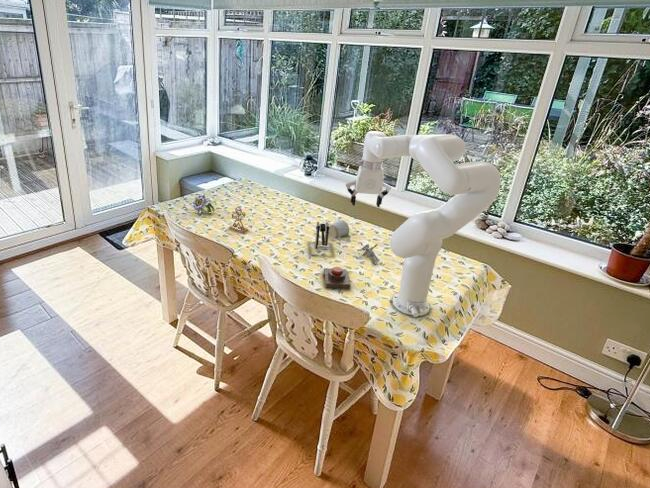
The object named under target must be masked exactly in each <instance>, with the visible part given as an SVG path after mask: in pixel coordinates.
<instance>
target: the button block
mask: <svg viewBox="0 0 650 488" xmlns="http://www.w3.org/2000/svg"><path fill="white" fill-rule="evenodd" d="M333 268H334V267H331V268H328V267H326V268H325V267H324V268H323V278H324V284H325V285H324V286H325V289H336V290H337V289H338V290H350V289H351V282H350V278H349V275H348V270H347V269H345V268H341V269H342V274H341V275H335V274H333V273H332V271H333Z"/></svg>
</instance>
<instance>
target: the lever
mask: <svg viewBox="0 0 650 488" xmlns="http://www.w3.org/2000/svg"><path fill="white" fill-rule="evenodd" d="M319 224H320V231H319V233H320V232H321V233H320V234H321V244H318V246H317V248H318V249H320V250H330V248H331V247H330V245H327V246H325V229H326V223H319ZM318 249H317V250H318Z"/></svg>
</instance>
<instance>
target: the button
mask: <svg viewBox="0 0 650 488" xmlns="http://www.w3.org/2000/svg"><path fill="white" fill-rule="evenodd" d="M332 268H333V271H332V273H333V274H335V275H341V274H342V269H343V268H342V267H340V266H334V267H332Z"/></svg>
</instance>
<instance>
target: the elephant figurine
mask: <svg viewBox="0 0 650 488" xmlns="http://www.w3.org/2000/svg"><path fill="white" fill-rule="evenodd" d="M378 245H379V244H378V243H376V244H375V245H374V246H372V247H370V244H369V243H367V244H366V245H363V247H361V249H360V250H361V251H362V252H363V253H362V254H361V256H365V255H366V256H367V258H369V259H370V260H371V262H373V264H374V265H377V264H378V263H377V262H380V261H381V259H379V258H378V256H377V255H376V254H375V252H374V251H373V250H374V249H375V248H376V247H377V246H378Z"/></svg>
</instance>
